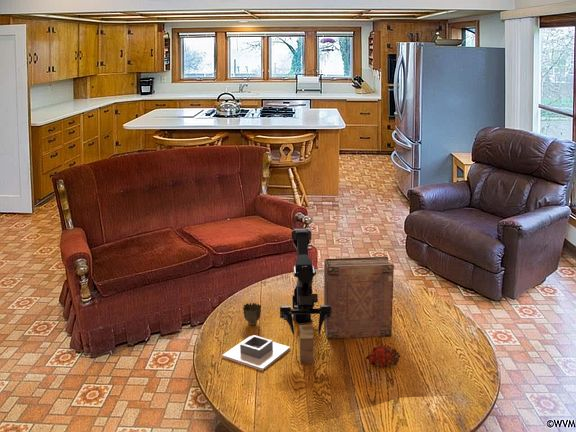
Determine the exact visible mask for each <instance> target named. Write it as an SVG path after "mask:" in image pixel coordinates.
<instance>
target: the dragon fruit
mask: <svg viewBox="0 0 576 432" xmlns="http://www.w3.org/2000/svg"><path fill="white" fill-rule="evenodd" d="M400 358H401V355H400V353H399V352H398V351H397V350H396V349H395V348H394V347H391V346H390V345H388V344H387V345H378V346H377V347H376V346H375V347H373V349H372V350H371V352H370V353H369V354H368V355H367V356H366V357H365V359H366V360H369V364H370V365H371V366H374V367H377V368H378V367H381V370H385V369H387V368H388V369H389V368H392V366H397V364H398V362H399V360H400Z"/></svg>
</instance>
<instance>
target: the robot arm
mask: <svg viewBox="0 0 576 432" xmlns="http://www.w3.org/2000/svg"><path fill="white" fill-rule="evenodd" d="M290 233H291V234H290V237H291V238H290V239H291V241H292V245H293V247H294V248H295V250H296V259H295V265H294V266H293V276H294V277H295V278H296V279H297V281H296V286H295V287H294V290H293V294H292V295H291V296H292V298H291V302H292V303H291V304H292V308H291V305H281V306H279V318H280V319H283V320H284V321H286V322H287V324H288V326H289V328H290V331H291V333H292V335H293V336H294V335H295V328H294V321H295V323H297V324H298V325H304V324H307V323H311V322H313V321H314V320H313V319H312V318H311V315H317V314H318V315H319V318H318V328H317V332H318V335H320V334H321V329H322V326H323V325H324V320H325V319H327V317H330V316H331V306H330V305H324V304H323V305H320V306H319V308H314V307H315V303H318V300H319V298H318V297H319V296H318V293H313V281H314V277H315V275H317V271H316V268H315V266H314V265H313V261H312V259H311V258H310V257H309V246H310V242H311V240H312V231H311V230H309V228H293V231H291V230H290Z"/></svg>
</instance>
